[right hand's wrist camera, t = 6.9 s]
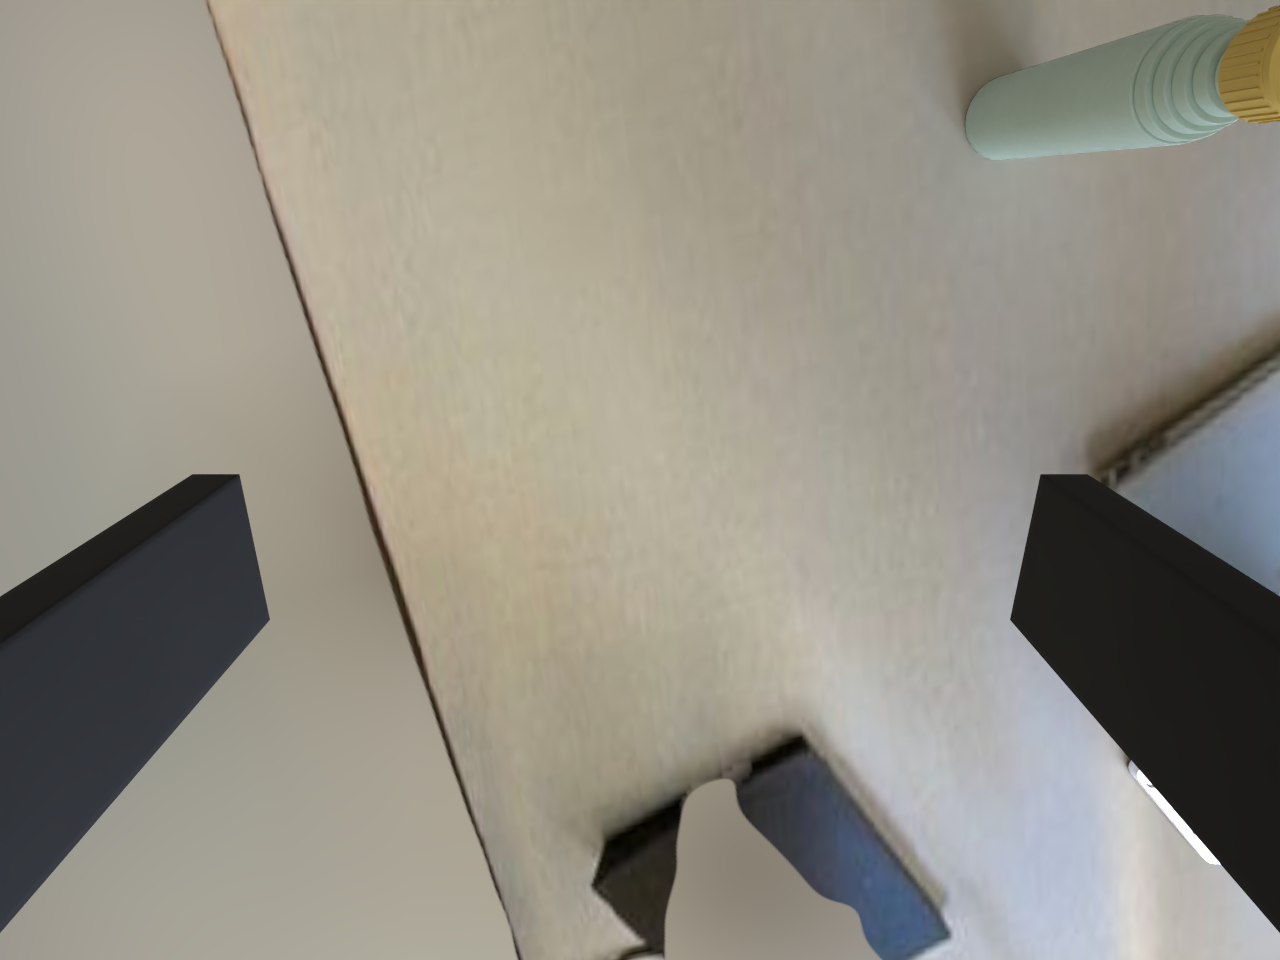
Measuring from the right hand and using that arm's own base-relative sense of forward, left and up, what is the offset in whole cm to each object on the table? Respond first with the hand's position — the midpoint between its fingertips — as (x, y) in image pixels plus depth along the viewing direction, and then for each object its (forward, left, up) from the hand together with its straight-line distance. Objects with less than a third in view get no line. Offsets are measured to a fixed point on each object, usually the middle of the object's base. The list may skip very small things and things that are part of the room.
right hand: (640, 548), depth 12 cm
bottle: (-10, +23, -41) cm, 48 cm away
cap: (-10, +23, -17) cm, 30 cm away
